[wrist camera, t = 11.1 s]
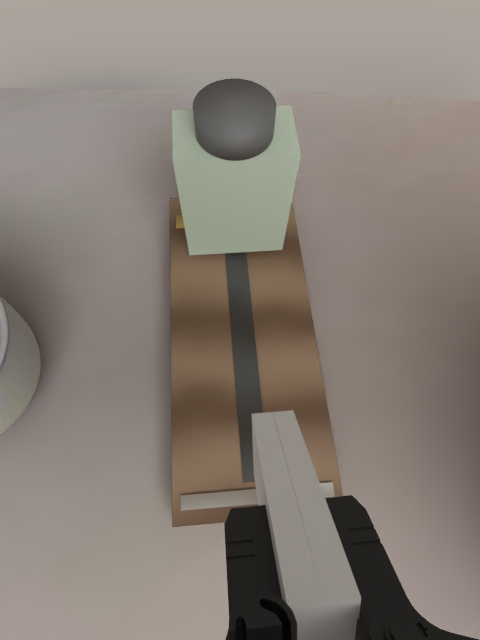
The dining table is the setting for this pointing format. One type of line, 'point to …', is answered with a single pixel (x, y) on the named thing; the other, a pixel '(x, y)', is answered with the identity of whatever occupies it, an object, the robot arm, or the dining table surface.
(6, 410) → the teacup
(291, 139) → the fader tab
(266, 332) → the fader track
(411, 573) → the dining table surface
